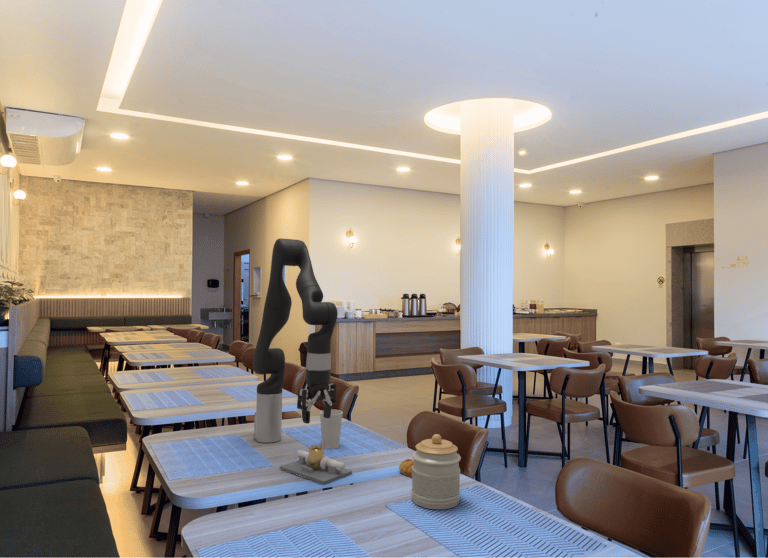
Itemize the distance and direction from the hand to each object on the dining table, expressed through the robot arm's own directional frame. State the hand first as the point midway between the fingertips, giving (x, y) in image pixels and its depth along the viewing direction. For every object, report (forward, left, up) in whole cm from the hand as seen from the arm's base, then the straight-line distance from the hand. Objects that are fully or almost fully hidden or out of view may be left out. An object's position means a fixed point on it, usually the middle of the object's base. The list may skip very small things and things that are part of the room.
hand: (316, 420), depth 164 cm
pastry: (+23, +19, -16) cm, 34 cm away
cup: (-15, +22, -16) cm, 31 cm away
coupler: (0, 0, -15) cm, 15 cm away
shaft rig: (0, 0, -16) cm, 16 cm away
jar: (+40, +6, -16) cm, 43 cm away
